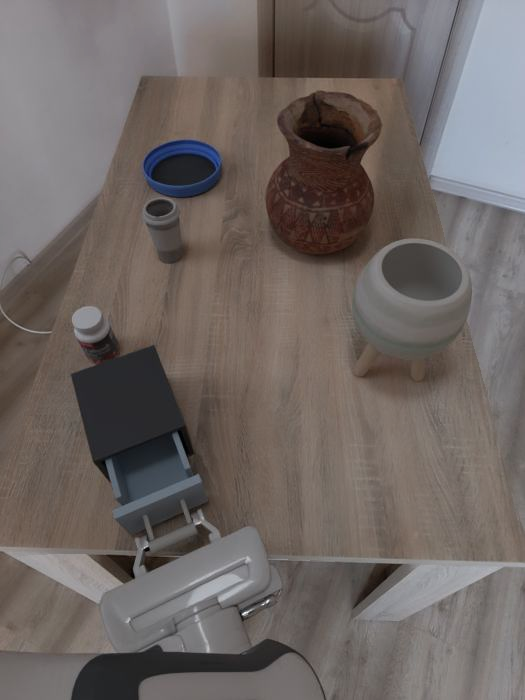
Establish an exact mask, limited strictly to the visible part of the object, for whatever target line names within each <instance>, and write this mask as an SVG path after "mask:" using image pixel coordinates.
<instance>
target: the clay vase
mask: <svg viewBox="0 0 525 700" xmlns="http://www.w3.org/2000/svg"><path fill="white" fill-rule="evenodd" d="M276 124H277V126H278V129H279V130H280V133H281V134H282V135H283V137H284V138H285V140H286V143H287V144H288V145H287V146H288V151H289V156H288V157H286V158H285V159H283V160H282V161H281V162H280V163H279V164H278V165H277V167H276V168H275V169H274V171H273V172H272V175H271V176H270V178H269V180H268V183H267V186H266V188H265V208H266V214H267V217H268V220H269V223H270V225H271V227H272V229H273V231H274V232H275V234H276V235H277V236H278V238H279V239H280V240H281V241H282V242H283V243H284V244H286V245H287V246H288V247H290V248H292V249H294V250H296V251H298V252H300V253H305V254H310V255H328V254H331V253H335V252H339V251H341V250H344V249H346V248H348V247H349V246H350V245H352V244H354V243H355V242H356V241H357V240H358V239H359V238H360V237H361V235H362V234H363V232H364V231H365V229H366V227H367V226H368V223H369V221H370V219H371V217H372V214H373V211H374V207H375V206H374V205H375V191H374V187H373V183H372V181H371V178H370V177H369V175H368V173H367V171H366V169H365V167H364V166H363V165H362V161H363V158H364V156H365V154H366V152H367V151H368V150H369V149H370V147H372V146H373V145H374V144H375V143H376V142H377V140H378V139H379V137H380V136H381V133H382V127H383V123H382V119H381V116H379V113H378V111H377V110H376V109H375V108H373V106H372V105H371V104H369V103H367V102H366V101H364V100H362V99H359V98H357V97H355V96H354V95H353V94H350V93H346V92H343V91H342V92H341V91H327V90H316V91H313V92H311V93H310V94H308V95H307V96H303V97H301V96H300V97H298V98H296V99H295V100H292V101H291V102H290V103H289V104H288V105H287V107H284V108H283V109H282V110H280V112H278V114H277V118H276Z"/></svg>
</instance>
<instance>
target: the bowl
mask: <svg viewBox="0 0 525 700" xmlns="http://www.w3.org/2000/svg"><path fill="white" fill-rule="evenodd" d="M222 163H223V160H222V156H221V154H220V152H219V151H218V150H217V148H215V146H213V145H211V144H209V143H207V142H204V141H202V140H196V139H189V138H188V139H187V138H186V139H175V140H171V141H167V142H164V143H162V144H160V145H158V146H155V147H154V148H152V149H151V150H149V152H148V153H147V154H146V155H145V157H144V159H143V161H142V172H143V176H144V177H145V179H146V180H147V182H148V184H149V186H151V188H152V189H153V190H155V191H156V192H158V193H159V194H162V195H165V196H168V197H173V198H188V197H193V196H197V195H200V194H202V193H204V192H206V191H208V190H210V189H211V188H212V187H213V186H214V185H215V184H216V183H217V182H218V181H219V178H220V174H221V171H222V165H223V164H222Z"/></svg>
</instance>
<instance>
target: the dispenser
mask: <svg viewBox="0 0 525 700" xmlns="http://www.w3.org/2000/svg"><path fill="white" fill-rule="evenodd" d="M70 377H71V381H72V384H73V389H74V394H75V397H76V401H77V404H78V405H77V406H78V409H79V412H80V418H81V421H82V425H83V429H84V432H85V433H84V434H85V436H86V437H85V438H86V440H87V445H88V448H89V452H90V456H91V460H92V463H93V464H94V465H95V467H96V468H97V469H98V470H99V472H101V474H102V475H103V476H104V477H105V478H106V480H107V481H108V482H109V484H111V481H110V477H109V473H108V470H107V466H106V462H105V460H106V459H108V458H111V457H113V456H116V455H118V454H121V453H123V452H126V451H128V450H131V449H134V448H136V447H139V446H141V445H144V444H146V443H149V442H151V441H154V440H156V439H159V438H161V437H164V436H166V435H169V434H171V433H174V432H176V431H177V432H178V435H179V437H180V440H181V443H182V445H183V448H184V451H185V454H186V456H187V458H189V457H190V456H192V455H196V453H195V450H194V447H193V444H192V441H191V437H190V434H189V432H188V428H187V426H186V422H185V420H184V418H183V415H182V412H181V410H180V407H179V405H178V402H177V399H176V397H175V394H174V391H173V389H172V386H171V384H170V382H169V379H168V377H167V374H166V370H165V368H164V366H163V363H162V361H161V358H160V356H159V353H158V351H157V348H156V345H155V344H152V345H149V346H146V347H144V348H140V349H137V350H135V351H132V352H129V353H127V354H124V355H120V356H117V357H116V358H115V359H112V360H109V361H106V362H103V363H100V364H95V365H92V366H89V367H86V368H83V369H80V370H77V371H75V372H72V373H70Z"/></svg>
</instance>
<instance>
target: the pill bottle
mask: <svg viewBox="0 0 525 700" xmlns="http://www.w3.org/2000/svg"><path fill="white" fill-rule="evenodd" d="M71 323H72V325H73V333H74V336H75V338H76V340H77V342H78V344H79V346H80V347H81V349H82V352H83V353H84V354H85V357H86V359H88V361H89V362H90V363H92V364H95V365H98V364H100V363H103V362H106V361H109V360H112V359H115V358H118V355H119V353H120V344H119V342H118V339H117V337H116V335H115V333H114V330H113V328H112V326H111V323H110V321H109V320H108V318H107V317H105V316H104V314H103V313H102V311H101V309H99V308H98V307H97V306H92V305H87V306H86V305H85V306H82V307H80V308H78V309H77V310H76V311H75V312H74V313H73V315H72V317H71Z"/></svg>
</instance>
